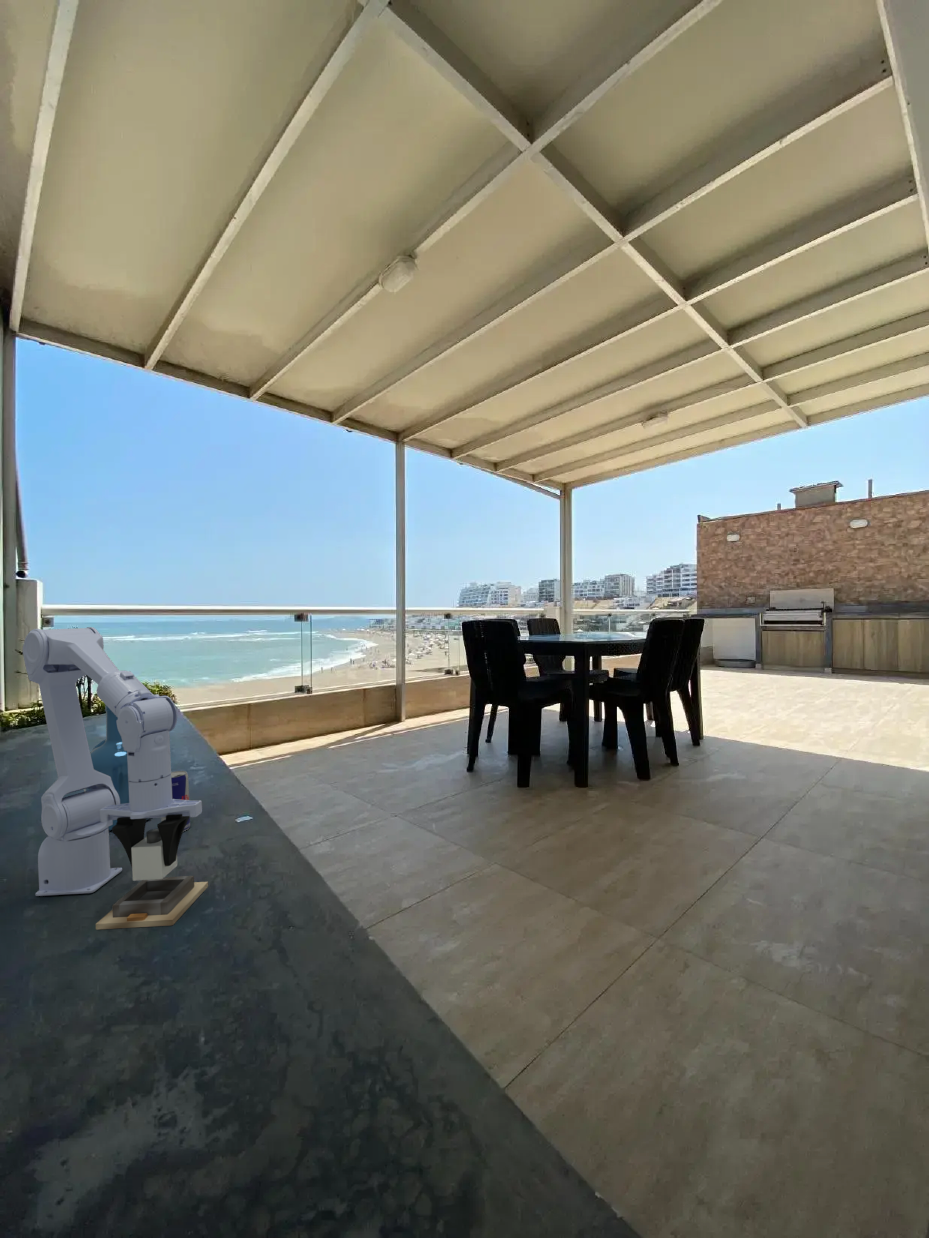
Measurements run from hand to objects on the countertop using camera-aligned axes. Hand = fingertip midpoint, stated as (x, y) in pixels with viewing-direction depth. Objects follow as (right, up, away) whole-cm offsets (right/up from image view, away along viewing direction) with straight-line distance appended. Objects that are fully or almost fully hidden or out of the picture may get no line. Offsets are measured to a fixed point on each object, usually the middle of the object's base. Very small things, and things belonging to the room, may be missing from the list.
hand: (154, 864), depth 81 cm
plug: (0, -2, 0) cm, 2 cm away
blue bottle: (-30, -8, +37) cm, 48 cm away
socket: (0, -7, 0) cm, 7 cm away
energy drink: (-13, -7, +31) cm, 34 cm away
